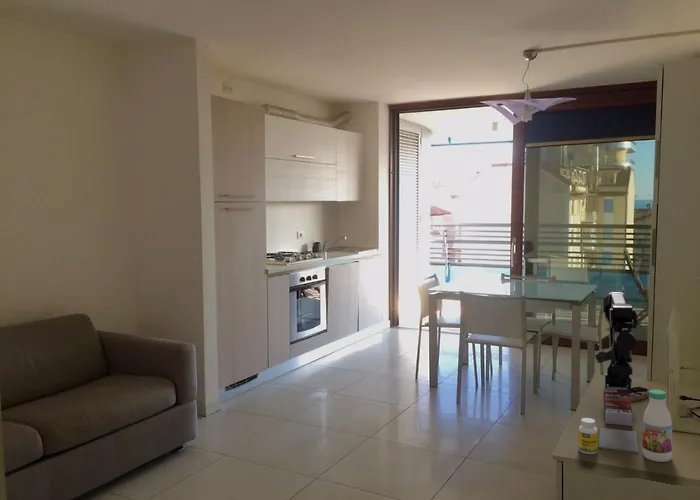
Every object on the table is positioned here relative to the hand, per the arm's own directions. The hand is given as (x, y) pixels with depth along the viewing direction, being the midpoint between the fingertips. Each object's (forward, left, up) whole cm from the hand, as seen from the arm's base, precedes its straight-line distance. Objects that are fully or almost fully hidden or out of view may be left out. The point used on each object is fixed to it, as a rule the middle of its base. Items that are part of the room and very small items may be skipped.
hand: (621, 387), depth 204 cm
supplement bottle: (+27, -10, -13) cm, 32 cm away
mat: (+16, -1, -12) cm, 21 cm away
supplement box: (+3, -1, -10) cm, 11 cm away
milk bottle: (+25, +9, -13) cm, 30 cm away
